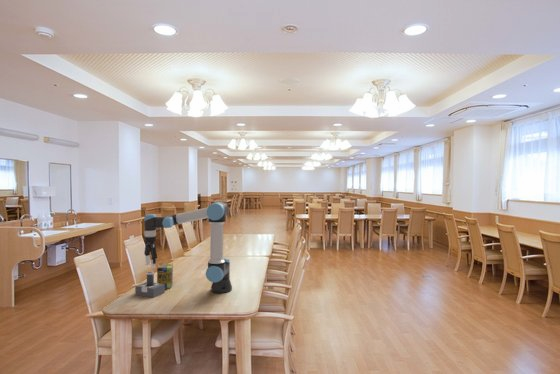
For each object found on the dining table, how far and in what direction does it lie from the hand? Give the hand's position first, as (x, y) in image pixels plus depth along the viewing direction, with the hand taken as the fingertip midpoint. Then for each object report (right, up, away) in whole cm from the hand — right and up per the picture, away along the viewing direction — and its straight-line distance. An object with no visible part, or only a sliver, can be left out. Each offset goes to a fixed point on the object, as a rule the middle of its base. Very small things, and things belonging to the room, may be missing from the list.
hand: (150, 266), depth 230 cm
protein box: (+4, -19, +19) cm, 27 cm away
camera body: (0, -19, 0) cm, 19 cm away
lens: (0, -16, 0) cm, 16 cm away
